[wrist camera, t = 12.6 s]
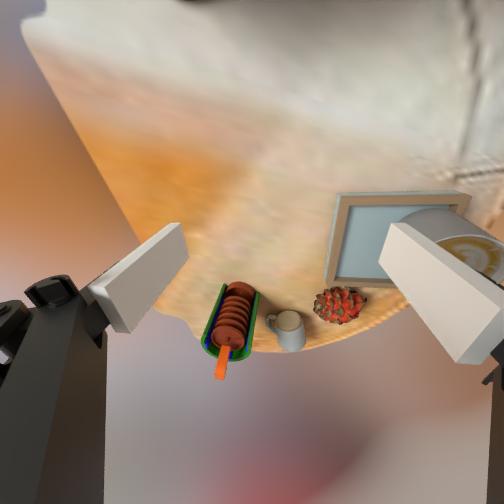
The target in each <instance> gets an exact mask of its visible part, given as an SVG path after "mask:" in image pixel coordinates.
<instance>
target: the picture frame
mask: <svg viewBox="0 0 504 504" xmlns="http://www.w3.org/2000/svg"><path fill="white" fill-rule="evenodd" d="M471 198H472V196H470V195H467V194H464V193H460V192H457V191H410V192H362V193H337V199H336V205H335V211H334V217H333V223H332V229H331V235H330V241H329V247H328V253H327V259H326V265H325V271H324V278H325V281H326V284H327V286H349V287H372V288H395V289H398V287H397V286H396V285H395V283H394V282H393V281H392V280H391V278H390V277H389V276H388V274H387V273H386V272H385V271H384V269H383V268H382V267H381V265H380V264H379V263H378V261H379V258H380V255H381V252H382V249H383V246H384V243H385V240H386V237H387V234H388V231H389V228H390V225H391V223H398V222H399V221H400V220H401V219H403V218H404V217H406V216H407V215H409V214H411V213H413V212H416V211H419V210H422V209H428V208H443V209H447V210H450V211H453V212H455V213H457V214H458V215H460V216H461V217H462V215H463V213H464V211H465V209H466V207H467V206H468V204H469V202H470V200H471Z"/></svg>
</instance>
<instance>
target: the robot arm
mask: <svg viewBox="0 0 504 504" xmlns="http://www.w3.org/2000/svg"><path fill="white" fill-rule="evenodd" d="M188 259H189V253H188V249H187V245H186V241H185V238H184V234H183V230H182V226H181V223H169V224H168V225H167V226H166V227H164V228H163V229H162V230H160V231H159V232H158V233H156V234H155V235H154V236H152V237H151V238H150V239H148V240H147V241H146V242H145V243H143V244H142V245H141V246H140V247H138V248H137V249H135V250H134V251H133V252H131V253H130V254H129V255H128V256H126V257H125V258H124V259H122V260H121V261H119V262H117V263H116V264H114V265H113V266H112V267H111V268H109V269H108V270H106V271H105V272H104V273H103V274H101V275H100V276H98V277H97V278H96V279H95V280H93V281H92V282H90V283H89V284H88V285H87V286H85V287H84V288H83V289H81V290H80V291H79V290H78V289H77V287H76V286H75V284H74V283H73V281H72V280H71V278H70V277H69V276H68V275H57V276H52V277H49V278H46V279H43V280H41V281H39V282H37V283H35V284H33V285H32V286H30V287H29V288H27V289H26V290H25V292H24V293H25V294H26V295H27V297H28V298H29V299H30V300H31V301H32V302H33V304H34V305H35V306H36V307H34V308H27V307H26V305H24V303H23V302H22V301H21V300H11V301H7V302H2V303H0V350H1V351H2V352H3V353H4V354H5V355H7V356H8V357H9V359H8V360H7V361H6V362H5V363H4V364H1V363H0V504H103V503H104V502H103V501H104V461H105V459H104V458H105V419H106V377H107V375H106V374H107V333H106V331H105V328H106V327H107V326H108V325H109V324H111V325H112V327H113V329H114V330H115V332H119V333H131V332H132V331H133V330H134V328H135V327H136V326H137V324H138V323H139V322H140V320H141V319H142V318H143V317H144V315H145V314H146V312H147V311H148V310H149V309H150V308H151V306H152V305H153V304H154V302H155V301H156V300H157V299H158V297H159V296H160V295H161V293H162V292H163V291H164V290H165V288H166V287H167V286H168V284H169V283H170V282H171V281H172V279H173V278H174V277H175V275H176V274H177V273H178V271H179V270H180V269H181V268H182V266H183V265H184V264H185V262H186V261H187V260H188ZM378 263H379V264H380V265H381V267H382V268H383V269H384V271H385V272H386V273H387V274H388V276H389V277H390V278H391V280H392V281H393V282H394V283H395V285H396V286H397V287H398V289H399V290H400V291H401V293H402V294H403V295H404V296H405V298H406V299H407V300H408V302H409V303H410V304H411V305H412V307H413V308H414V309H415V311H416V312H417V313H418V315H419V316H420V317H421V318H422V319H423V321H424V322H425V324H426V325H427V326H428V327H429V329H430V330H431V331H432V333H433V334H434V335H435V336H436V338H437V339H438V340H439V342H440V343H441V344H442V346H443V347H444V348H445V349H446V351H447V352H448V353H449V355H450V356H451V357H452V359H454V361H455V362H456V363H463V364H475V365H481V364H482V363H483V362H484V360H485V359H486V358H487V357H488V356H489V355H490V354H491V355H492V356H493V357H494V359H495V360H496V361H497V362H498V363H499V365H498V366H497V367H496V368H495V369H494V370H493V371H492V372H491V373H490V374H489V375H488V376H487V377H486V378H484V380H483V381H482V383H483V384H484V385H487V384H488V383H489V382H493V392H492V393H493V394H492V413H491V430H490V447H489V467H488V484H487V503H486V504H504V287H503V286H502V285H500V284H497V283H496V281H494V280H493V279H491V278H490V277H488V276H487V275H485V274H484V273H482V272H479V271H477V270H475V269H473V268H471V267H469V266H467V265H466V264H465V263H463V262H462V261H460V260H459V259H457V258H456V257H454V256H453V255H451V254H450V253H449V252H447V251H446V250H444V249H443V248H441V247H440V246H438V245H437V244H436V243H434V242H433V241H431V240H430V239H428V238H427V237H425V236H424V235H422V234H421V233H420V232H418V231H417V230H415V229H414V228H412V227H411V226H409V225H408V224H406V223H391V225H390V228H389V231H388V234H387V237H386V240H385V243H384V246H383V249H382V252H381V255H380V258H379V261H378Z"/></svg>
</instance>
